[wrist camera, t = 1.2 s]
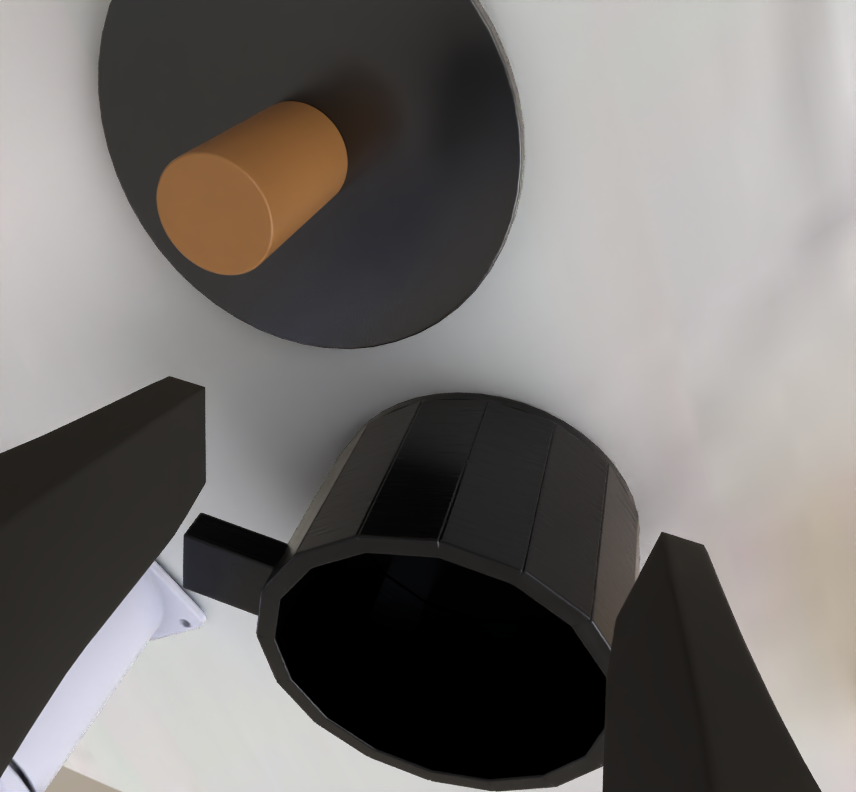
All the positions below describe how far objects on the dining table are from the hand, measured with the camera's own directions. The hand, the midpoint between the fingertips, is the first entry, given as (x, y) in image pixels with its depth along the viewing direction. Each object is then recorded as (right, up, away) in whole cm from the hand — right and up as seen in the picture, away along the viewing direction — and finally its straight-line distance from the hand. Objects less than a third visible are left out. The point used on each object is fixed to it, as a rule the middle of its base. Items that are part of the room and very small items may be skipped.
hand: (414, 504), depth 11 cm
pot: (+2, -3, +14) cm, 14 cm away
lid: (-3, +8, +8) cm, 11 cm away
